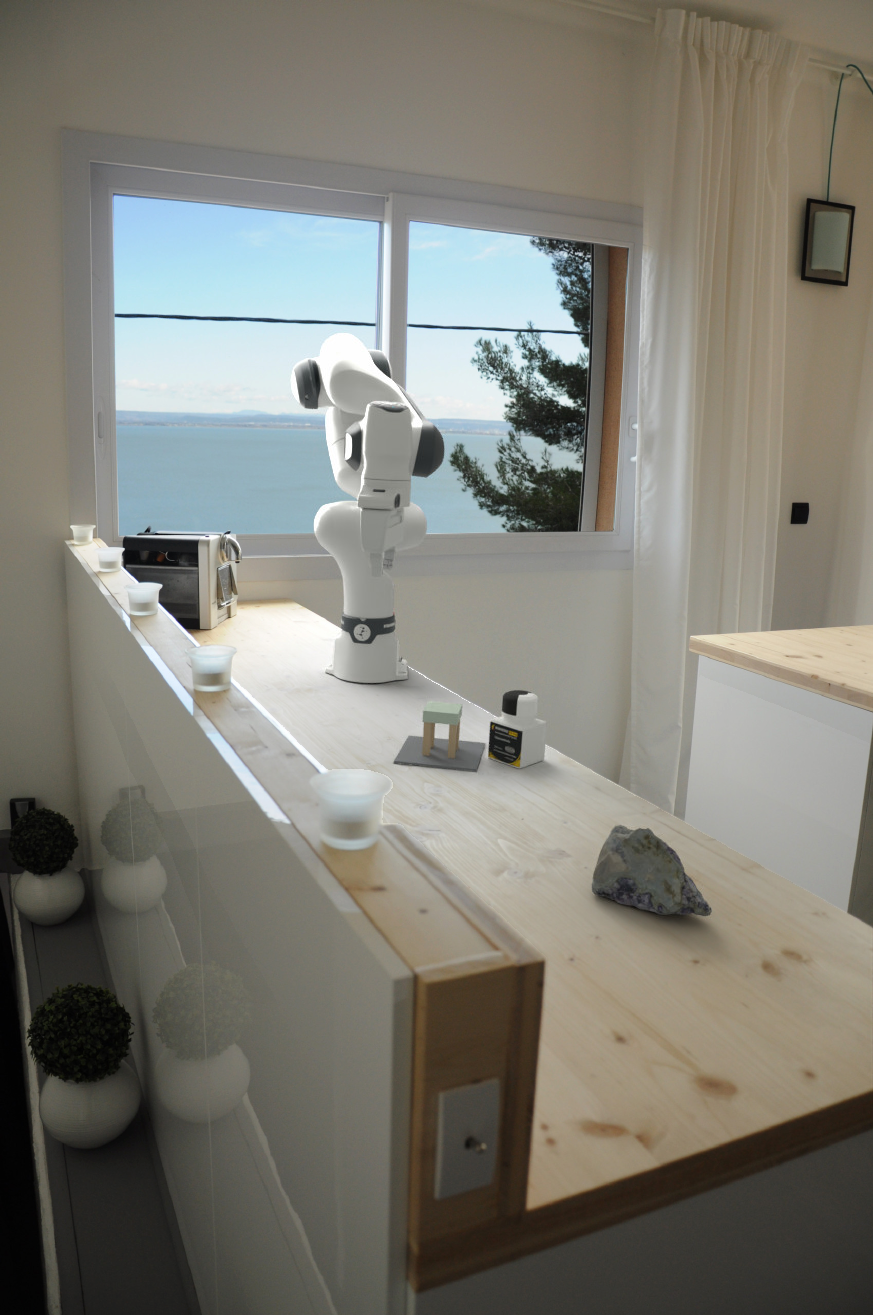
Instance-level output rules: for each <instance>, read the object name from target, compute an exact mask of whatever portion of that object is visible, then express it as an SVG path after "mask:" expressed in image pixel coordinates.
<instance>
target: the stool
mask: <svg viewBox="0 0 873 1315" xmlns="http://www.w3.org/2000/svg"><path fill="white" fill-rule="evenodd" d="M462 715H463V703H455V702H454V703H452V702H443V701H441V702H440V701H431V700H430V701H429V700H428V701H427V703H426V705H425V707H423V710H422V723H423V729H422V730H423V731H422V734H423V735H422V737H423V748H422V755H427V756H429V755H430V747H432V748H433V746H434V738H435V735H436V734H435V733H436V724H440V725H441V724H442V725H449V726H448V739H449V740H448V758H455V753H456V750H458V748H459V740H460V731H461V729H460V728H461V718H462Z"/></svg>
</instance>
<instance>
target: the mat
mask: <svg viewBox="0 0 873 1315" xmlns="http://www.w3.org/2000/svg"><path fill="white" fill-rule="evenodd" d="M448 740H449V738H440V737H439V738H438V737H434V746H433V748H432V747H430V755H429V756H427V755H422V748H423V736H418V735H408V736H407V738H406V739H405V741H404V743H403V744H402V746H401V748H400V750H399V752H398V753H397V755H396V756H395V758H394V760H393V764H397V763H401V764H400V765H407V764H412V765H411V766H417V765H421V766H420V767H427V768H436V767H438V769H446V768H448V770H456V769H457V771H466V770H467V771H466V772H469V771H470V772H477V771H478V768H479V764H480V762H481V759H482V756H483V753H484V750H485V747H484V746H486V742H479V741H471V740H470V741H468V740H460V739H459V748H458V750H456V753H455V758H448Z"/></svg>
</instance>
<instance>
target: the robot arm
mask: <svg viewBox="0 0 873 1315" xmlns="http://www.w3.org/2000/svg"><path fill="white" fill-rule="evenodd" d="M393 375H394V374H393V369H392V365H391V362H390V360H389V359H388V357H387V355H386V354H385V353H384V351H383V350H379V349H370V348H369V349H367V348H366V347H365V346H364V344H363V343H362V341H360V340H359V339H358V338H357V337H355V336H354V335H353V334H351V333H344V332H343V333H342V332H341V333H337V334H334V335H332V336H330V337H329V338H327V339H326V340H325V341H324V343H323V344H322V346H321V349H320V353H319V356H318V357H314V358H311V357H309V358H305V359H303V360H301V361H299V362H297V363H296V364H295V365H294V367H293V368H292V374H291V377H290V383H291V385H290V386H291V391H292V394H293V395H294V398H295V399H296V401H298V404H299V405H300V406H301V407H302V408H303V409H306V410H308V409H309V410H318V408H329V409H327V412H326V413H325V414H326V415H325V435H326V443H327V448H328V449H327V450H328V454H329V455H328V456H329V458H330V463H331V468H332V471H333V476H334V480H335V483H336V485H337V486H338V488H339V489H340V490H341V491H343V492H344V493H346V494H348V495H350V497H352V498H355V499H356V500H341V501H336V502H332V503H331V502H330V503H326V504H324V505H322V506H321V507H320V508H319V510H318V511H317V513H316V515H315V517H314V521H313V532H314V536H315V538H316V540H317V542H318V544H319V545H320V546H321V547H322V548H323V549H324V550H326V551H327V552H328V553H329V554H330V555H331V556H332V557H333V559H334V560H335V562H336V563H337V566H338V569H339V571H340V574H341V577H342V585H343V612H342V613H341V617H340V628H341V631H340V633H338V634H337V635H336V636H335V637H334V639H333V652H332V663H331V665H328V666H326V667H325V673H327V674H330V675H332V676H335V677H336V678H338V679H339V680H343V681H347V682H354V683H360V684H361V683H363V684H368V683H369V684H375V683H376V684H377V683H386V682H387V683H388V682H392V681H402V680H403V681H404V680H407V679H408V678H409V676H408V660H406V659H403V657H402V656H403V655H400V642H399V639H398V636H397V635H396V632H395V630H396V616H395V611H394V607H395V606H394V605H395V602H394V601H395V582H394V580H393V577H392V576H391V575H390V574H389V573H388V572H386V571H385V570H388V571H389V570H392V569H393V568H394V565H395V556H396V552H402V551H406V550H409V549H414V548H417V547H419V546H420V545H421V544H422V543H423V541H424V539H425V537H426V534H427V528H428V522H427V518H426V516H425V513H424V511H423V510H422V508H421V507H420V506H419V505H417V504H415V503H414V502H412V501H411V494H412V493H411V490H412V489H411V488H412V485H411V483H412V477H417V478H426V479H427V478H428V477H429V476H431V475H432V474H434V473H435V472H436V471H437V470H439V468H440V467H441V465H442V464H443V462H444V459H445V441H444V438H443V435H442V433H441V432H440V430H439V429H438V428H437V426H436V425H435V424H434V423H433V422H431V421H430V420H428V418H426V416H425V415H424V414H423V413H422V411H421V410H420V409H419V407H418V406H417V404H416V403H415V402H414V400H413V399H412V398H411V396H410V395H409V394H408V393H407V391H406V390H405V389H404V387H402V386H401V385H400V384H399V383H397V382H396V381H394V380H393Z"/></svg>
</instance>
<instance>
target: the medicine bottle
mask: <svg viewBox="0 0 873 1315" xmlns="http://www.w3.org/2000/svg"><path fill="white" fill-rule="evenodd" d="M501 703H502V704H501V716H498V717H495V718H491V719H490V722H489V733H488V734H489V736H488V750H487V752H488V753H487V757H488V759H489V760H493V761H495V762H498V763H502V764H504V765H507V766H509V767H512V768H515V769H523V768H525V767H529V766H531V765H534V764H536V763H537V764H538V763H539V762H542V761H544V760H545V752H546V751H545V750H546V738H547V728H548V723H547V721H546V720H542V719H539V718H537V717H538V706H539V698H538V696H537V695H536V694H535V693H533V692H531V691H528V690H522V689H515V690H509V691H506V692H505V693H504V694H503V695H502V702H501Z"/></svg>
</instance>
